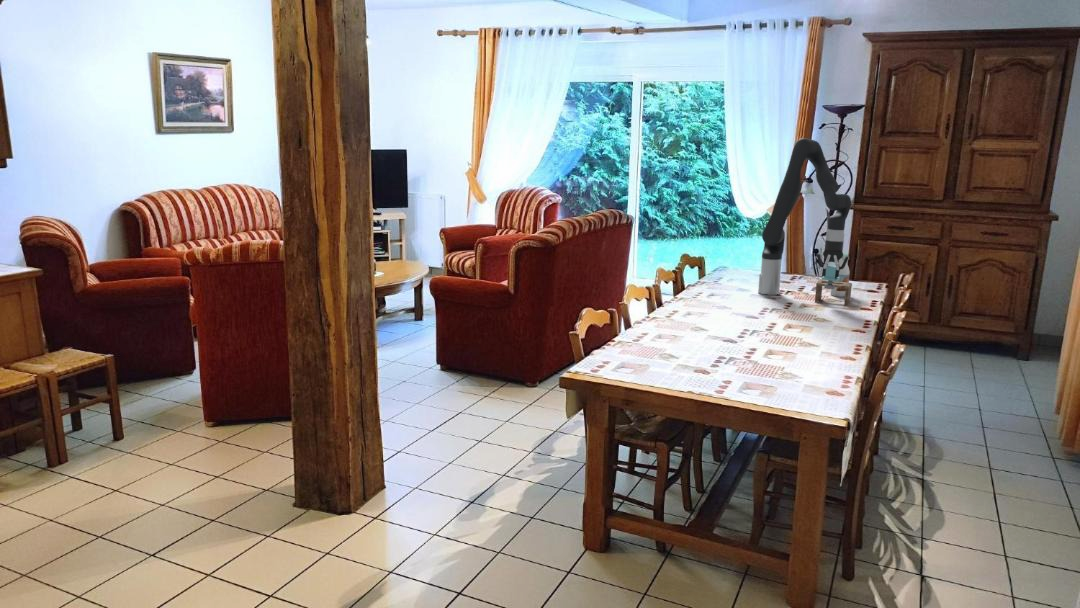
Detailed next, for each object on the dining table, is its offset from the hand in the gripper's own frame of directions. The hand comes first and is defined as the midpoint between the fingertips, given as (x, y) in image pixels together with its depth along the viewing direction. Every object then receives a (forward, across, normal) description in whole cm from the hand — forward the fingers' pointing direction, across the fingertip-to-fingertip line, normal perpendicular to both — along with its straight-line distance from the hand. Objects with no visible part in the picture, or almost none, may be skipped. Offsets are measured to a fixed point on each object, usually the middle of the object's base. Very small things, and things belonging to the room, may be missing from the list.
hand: (830, 277), depth 344 cm
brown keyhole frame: (+13, 0, -9) cm, 16 cm away
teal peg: (+5, 0, 0) cm, 5 cm away
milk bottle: (+13, 0, -27) cm, 30 cm away
